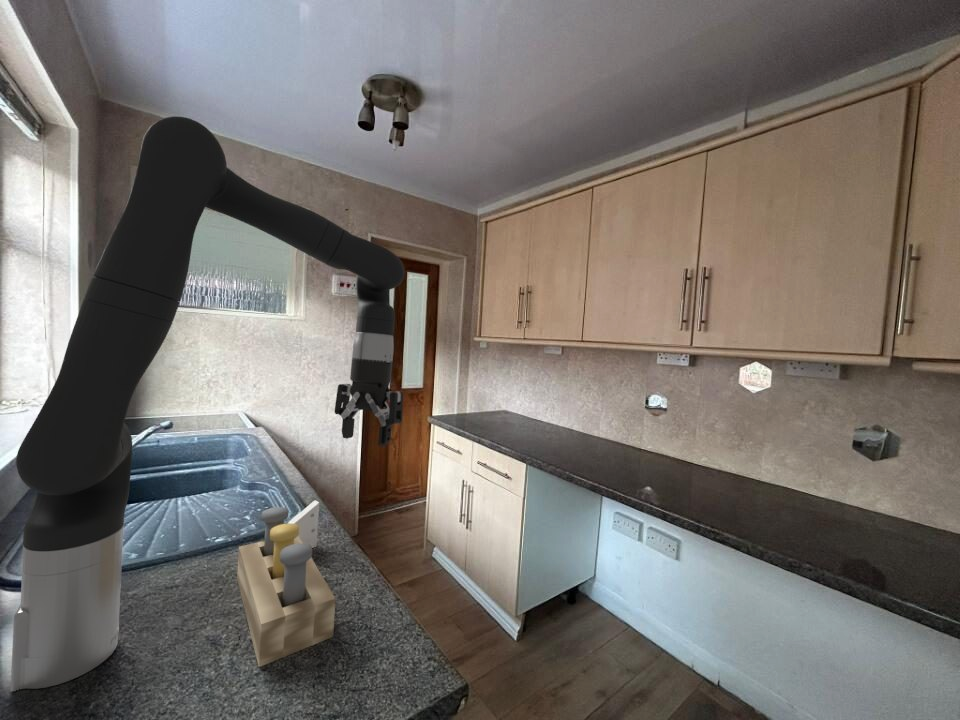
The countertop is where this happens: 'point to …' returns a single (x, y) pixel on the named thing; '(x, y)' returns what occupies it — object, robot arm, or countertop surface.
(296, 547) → the grey plug near
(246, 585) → the block
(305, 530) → the white wedge bracket
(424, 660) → the countertop surface
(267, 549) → the grey plug far
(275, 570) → the ochre plug
